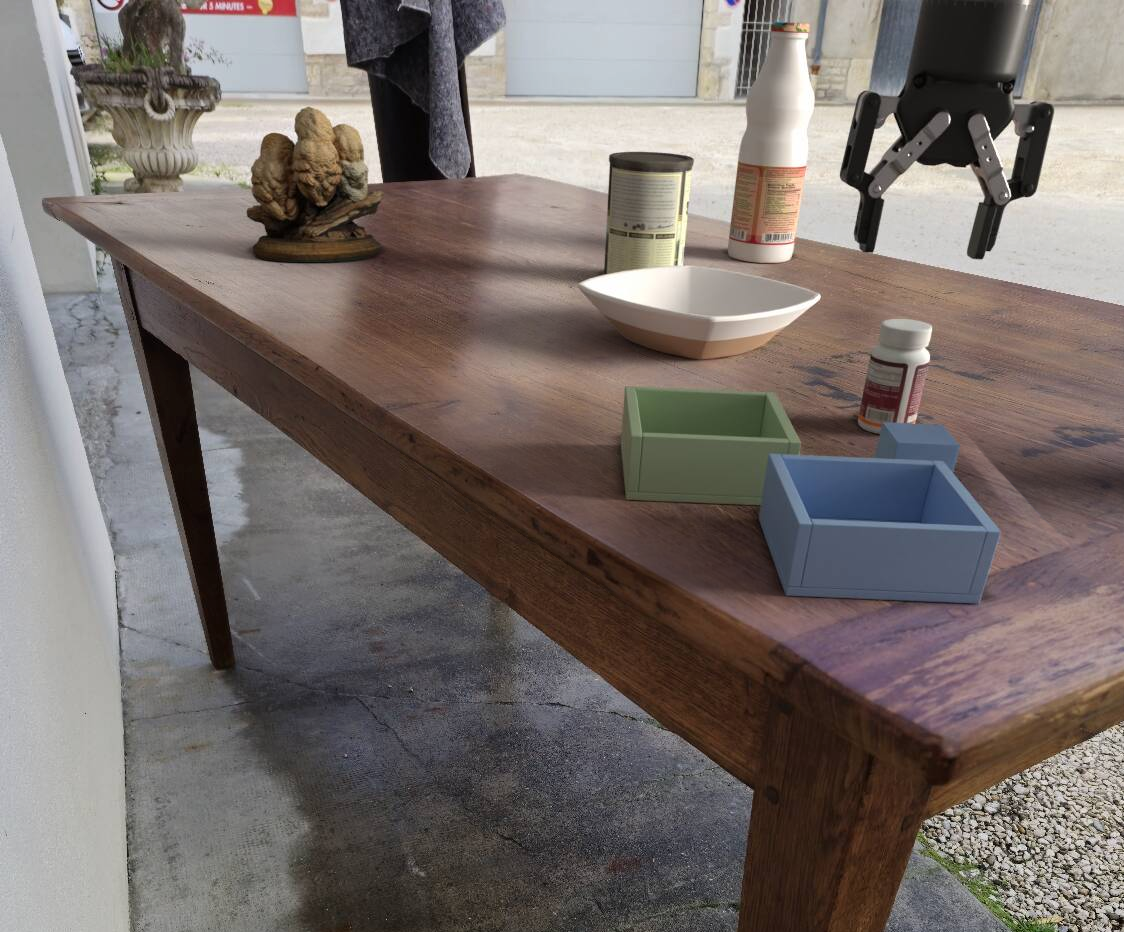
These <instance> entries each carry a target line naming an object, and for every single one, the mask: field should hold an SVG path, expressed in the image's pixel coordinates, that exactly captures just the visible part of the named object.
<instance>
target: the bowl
mask: <svg viewBox="0 0 1124 932" xmlns="http://www.w3.org/2000/svg"><path fill="white" fill-rule="evenodd" d="M577 288H578V289H579V291H580V292H581V293H582V294H583V295H584V296H585V297H586V298H587V299H588V300H589V302H590V303H591V304H592V305H593V306H594V307H595V308H596V309H597V310H598V311H599V312H600V313H601V314H602V316H604V317H605V318H606V319H607V321H609V322H610V324H611V325H612V326H613V327H614V328H615V329H616V331H618V333H619V334H621V336H623V338H624V339H626V340H627V341H630V342H631V343H633V344H636V345H638V346H641V347H643V348H646V349H649V350H653V351H655V352H656V351H657V352H659V353H662V354H663V353H664V354H668V355H672V356H677V357H682V358H687V359H693V360H714V359H720V358H726V357H727V358H728V357H734V356H738V355H741V354H745V353H749V352H751V351H753V350H755V349H757V348H760V347H762V346H764V345H765V344H767V342H769V341H770V340H772V338H773V337H775V336H776V335H777V334H779V333H781V331H782V330H784V329H785V328H786V327H788V326H789V325H790V324H792V323H793V322H794V321H796V320H797V319H798V318H799V317H800V316H801V315H803V314H804V313H805V312H807V311H808V310H809V309H810V308H812V307H813V306H814V305H815V304H816V303H817V302H819V301H820V300H821V294H820V293H818V292H816V291H813V290H811V289H808V288H805V287H803V286H798V285H795V284H792V283H788V282H785V281H779V280H775V279H772V278H767V277H763V276H758V275H753V274H748V273H743V272H739V271H733V270H726V269H722V268H716V267H707V266H701V265H700V266H699V265H690V264H685V265H684V264H683V265H681V266H662V267H652V268H643V269H635V270H628V271H621V272H616V273H611V274H606V275H604V274H601V275H598V276H594V277H590V278H587V279H585V280H583V281H581V282H579V283H578V284H577Z"/></svg>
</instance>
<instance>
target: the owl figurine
mask: <svg viewBox="0 0 1124 932" xmlns="http://www.w3.org/2000/svg"><path fill="white" fill-rule="evenodd" d="M293 129H294V133H295V134H296V136H297V138H296V140H297V141H296V142H295V143H294V141H293V140H291V138H290V137H288V135H285V134H283V133H280V132H270V133H268V134H266V135H265V136H263V138H262V141H261V144H260V151H259V153H260V154H259V156H258V158H256V159H255V160H254V162H253V165H252V166H251V167H250V172H251V178H250V182H251V185H252V187H251V193H252V194H251V195H252V197H253V198H254V200H255V201H256V202H257V203H258V204H256V205H252V206H251V207H247V209H246V216H247V218H248V219H249V220H251V221H253V222H254V223H260V224H262V225H263V227H264V231H265V234H266V235H261V236H260V237H258V240H257V242H256V243H255V244H253V246H252V253H253V256H255V257H256V258H258V259H261V260H264V261H271V262H285V263H333V262H335V263H336V262H344V261H345V262H349V261H357V260H358V261H359V260H363V259H364V260H365V259H368V258H373V257H375V256H376V255H378V254H381V252H382V244H381V243H380V242H379V241H378V240H377V239H376V238H375V237H374V235H372V234H369V233H368V232H367V231H366V229H365V226H364V227H363V226H360V225H358V224H357V223H355V221H354V220H357V219H360V218H362V217H365V216H368V215H375V214H376V213H377V212H378V211H379V208H380V207H379V205H380V204H381V203H382V201H383V199H384V195H385V192H383V191H381V190H374V191H373V190H368V184H369V167H368V165H366V163H365V150H364V145H363V142H362V138H361V135H360V133H359V130H358V129H356V128H355V127H353V126H352V125H349V124H345V123H339V124H336V125H335V126H332V122H331V120H330V119H329V118H328V117H327V115H326V114H325V113H324V112H322V110H319V109H318V108H314V107H311V106H306V107H304V108H301V109H300V110H299V111H298V112H297V113H296V115H295V117H294V126H293Z"/></svg>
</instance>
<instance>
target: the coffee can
mask: <svg viewBox="0 0 1124 932" xmlns="http://www.w3.org/2000/svg"><path fill="white" fill-rule="evenodd" d="M608 162H609V169H608V171H609V174H608V189H607V190H608V191H607V211H606V212H607V213H606V230H605V247H604V248H605V250H604V265H603V267H604V269H603V275H606V274H611V273H616V272H621V271H628V270H635V269H643V268H652V267H662V266H681V265H684V259H685V257H684V256H685V246H686V235H687V225H688V214H689V204H690V193H691V182H692V170H693V166H694V163H695V159H694V158H693V157H692V156H688V155H686V154H685V155H684V154H679V153H671V152H655V151H619V152H614V153H611V154H609V155H608Z"/></svg>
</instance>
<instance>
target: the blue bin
mask: <svg viewBox="0 0 1124 932" xmlns="http://www.w3.org/2000/svg"><path fill="white" fill-rule="evenodd" d="M759 506H760V508H759V512H758V513H759V514H758V521H759V524H760V526H761V530H762V532H763V535H764V538H765V541H766V543H767V546H768V549H769V552H770V555H771V557H772V561H773V563H774V566H775V569H776V572H777V575H778V577H779V581H780V583H781V587H782V589H783V591H784V594H785V596H786V597H805V598H806V597H808V598H829V599H831V598H832V599H836V598H837V599H858V600H881V601H884V600H885V601H904V602H926V603H927V602H928V603H929V602H930V603H954V604H975V605H976V604H977V605H979V604H980V602H981V601H982V600H981V599H982V596H983V593H984V590H985V587H986V583H987V580H988V577H989V573H990V570H991V567H992V563H993V560H994V556H995V553H996V549H997V547H998V543H999V540H1000V537H1001V533H1002V531H1001V530H1000V529H999V528H998V526H997V525H996V524H995V523H994V522H993V520H992V519H991V518H990V517H989V515H988V514H987V513H986V511H984V509H983V508H982V507H981V506H980V504H979V503H978V502H977V500H976V499H975V498H974V497H973V496H972V494H971V493H970V492H969V491H968V490H967V489H966V487H965V486H964V485H963V484H962V482H961V480H959V478H958V477H957V476H956V475H955V474H954V472H953V473H952V471H951V470H950V469H949V468H948V466H947V465H946V464H945V463H944V462H943V461H929V460H905V459H882V458H875V457H859V456H858V457H856V456H855V457H854V456H833V455H831V456H830V455H812V454H811V455H809V454H808V455H807V454H799V455H789V454H781V455H780V454H769V455H768V462H767V468H766V474H765V481H764V487H763V494H762V500H761V505H759Z"/></svg>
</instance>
